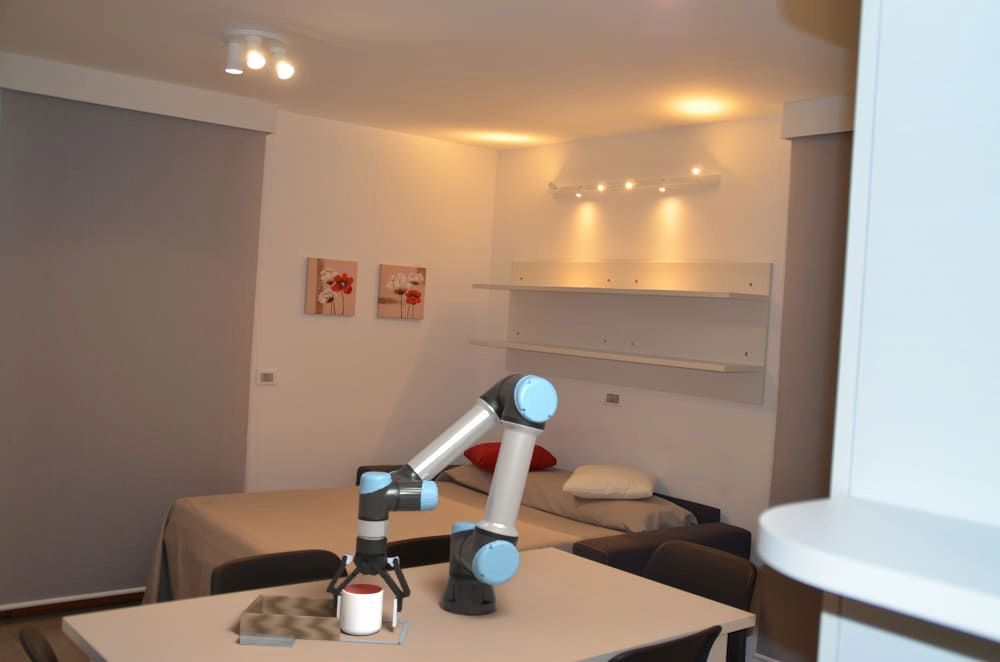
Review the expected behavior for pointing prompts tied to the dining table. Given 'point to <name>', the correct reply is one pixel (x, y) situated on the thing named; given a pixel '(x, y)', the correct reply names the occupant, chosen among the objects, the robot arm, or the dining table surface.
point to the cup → (361, 609)
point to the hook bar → (266, 639)
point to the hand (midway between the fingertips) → (366, 623)
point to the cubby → (292, 617)
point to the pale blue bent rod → (385, 641)
